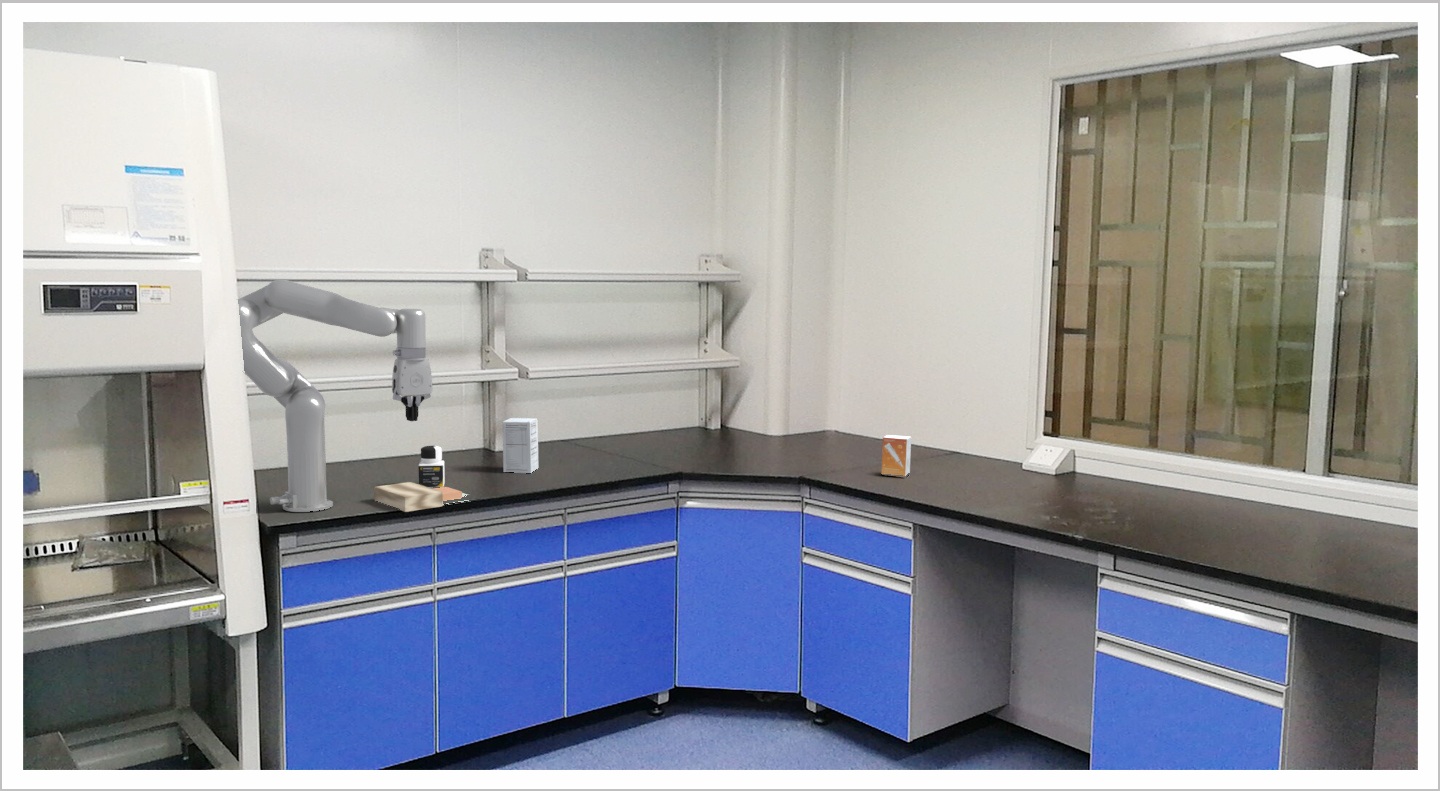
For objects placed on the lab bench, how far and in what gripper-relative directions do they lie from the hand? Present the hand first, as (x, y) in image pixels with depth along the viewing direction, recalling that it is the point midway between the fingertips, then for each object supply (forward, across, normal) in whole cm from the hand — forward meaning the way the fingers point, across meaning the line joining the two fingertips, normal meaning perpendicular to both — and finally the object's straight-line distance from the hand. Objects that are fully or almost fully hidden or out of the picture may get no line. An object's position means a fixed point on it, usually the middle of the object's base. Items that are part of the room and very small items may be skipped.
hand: (412, 420), depth 294 cm
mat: (+23, +10, 0) cm, 25 cm away
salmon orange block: (+21, +9, -1) cm, 23 cm away
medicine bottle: (+23, +15, +18) cm, 33 cm away
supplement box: (+23, +49, +22) cm, 59 cm away
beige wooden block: (+23, -2, 0) cm, 23 cm away
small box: (+22, +139, -60) cm, 153 cm away
